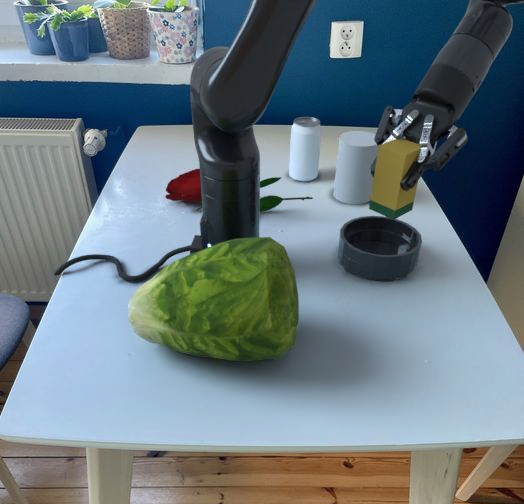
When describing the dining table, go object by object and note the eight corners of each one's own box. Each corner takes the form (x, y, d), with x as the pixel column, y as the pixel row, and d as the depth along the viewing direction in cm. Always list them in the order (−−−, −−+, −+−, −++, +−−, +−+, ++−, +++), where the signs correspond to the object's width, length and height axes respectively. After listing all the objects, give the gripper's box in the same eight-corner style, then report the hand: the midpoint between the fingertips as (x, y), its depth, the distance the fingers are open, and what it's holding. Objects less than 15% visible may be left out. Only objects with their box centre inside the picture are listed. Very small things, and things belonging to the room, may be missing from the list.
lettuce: (156, 368, 83) (147, 262, 83) (307, 354, 80) (298, 244, 80) (111, 374, 67) (99, 243, 67) (299, 358, 63) (286, 219, 63)
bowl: (336, 279, 91) (339, 253, 88) (337, 237, 101) (340, 213, 98) (419, 285, 90) (426, 259, 86) (412, 243, 100) (417, 218, 97)
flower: (314, 157, 100) (162, 156, 106) (308, 200, 97) (152, 195, 103) (317, 189, 108) (176, 185, 114) (312, 228, 105) (167, 223, 111)
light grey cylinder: (379, 200, 113) (388, 143, 105) (344, 206, 110) (352, 148, 102) (359, 184, 118) (367, 128, 110) (326, 190, 116) (332, 133, 108)
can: (315, 183, 118) (320, 128, 110) (286, 180, 119) (289, 125, 111) (319, 171, 123) (324, 117, 115) (291, 168, 124) (294, 114, 116)
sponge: (387, 199, 87) (398, 137, 80) (412, 210, 84) (425, 146, 78) (368, 208, 84) (378, 145, 78) (393, 220, 82) (405, 155, 75)
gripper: (405, 52, 79) (342, 154, 81) (494, 73, 71) (422, 186, 73) (418, 83, 85) (359, 178, 87) (502, 106, 77) (435, 210, 79)
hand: (388, 181), depth 80 cm, fingers closed on sponge, 4 cm apart
